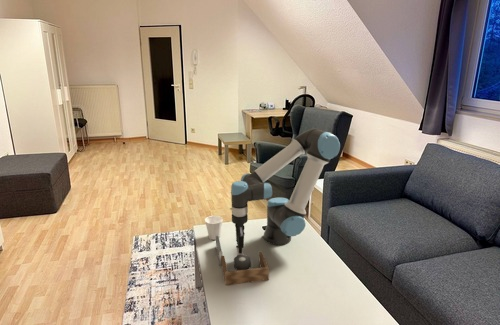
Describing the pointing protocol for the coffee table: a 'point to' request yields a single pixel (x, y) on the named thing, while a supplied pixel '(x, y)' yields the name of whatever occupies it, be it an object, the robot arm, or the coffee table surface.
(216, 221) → the cup
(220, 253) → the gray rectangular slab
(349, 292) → the coffee table surface
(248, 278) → the bay
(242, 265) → the coil
